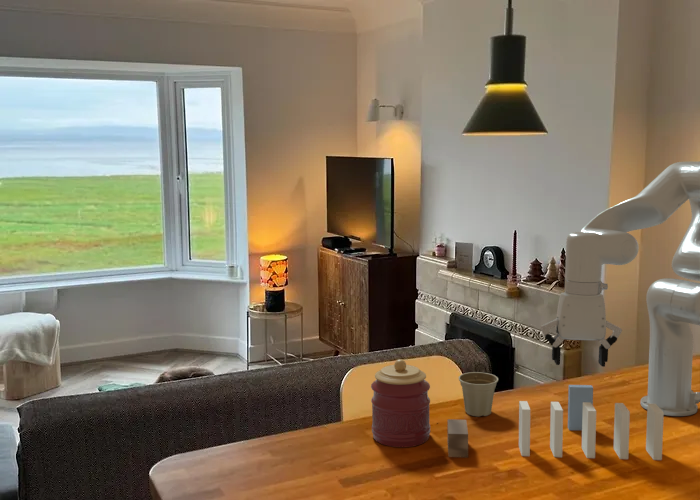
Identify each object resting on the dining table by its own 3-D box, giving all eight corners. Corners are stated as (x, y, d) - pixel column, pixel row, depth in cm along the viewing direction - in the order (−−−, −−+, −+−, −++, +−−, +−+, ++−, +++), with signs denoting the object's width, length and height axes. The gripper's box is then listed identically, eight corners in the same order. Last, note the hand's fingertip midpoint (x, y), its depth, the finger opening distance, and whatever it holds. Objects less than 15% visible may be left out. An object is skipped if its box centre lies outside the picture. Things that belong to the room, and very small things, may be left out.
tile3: (589, 448, 145) (590, 402, 144) (595, 458, 141) (596, 410, 139) (581, 447, 146) (582, 402, 144) (586, 458, 141) (588, 410, 139)
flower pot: (498, 420, 162) (498, 385, 161) (457, 418, 164) (457, 383, 162) (497, 406, 171) (498, 372, 170) (459, 404, 173) (459, 371, 172)
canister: (438, 430, 157) (437, 354, 154) (419, 452, 145) (418, 371, 143) (384, 422, 162) (383, 349, 160) (362, 443, 150) (361, 364, 148)
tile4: (557, 447, 146) (558, 401, 145) (562, 457, 141) (563, 410, 140) (550, 447, 146) (550, 401, 145) (554, 457, 141) (554, 410, 140)
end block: (466, 441, 150) (466, 419, 149) (468, 457, 142) (468, 434, 141) (447, 441, 150) (447, 419, 150) (448, 456, 142) (448, 433, 142)
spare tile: (567, 427, 157) (568, 384, 156) (590, 427, 156) (591, 385, 155) (569, 430, 155) (570, 387, 154) (592, 430, 155) (593, 387, 153)
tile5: (526, 446, 147) (526, 401, 146) (529, 456, 142) (530, 409, 141) (518, 446, 147) (519, 401, 146) (521, 456, 142) (522, 409, 141)
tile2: (621, 448, 145) (622, 403, 143) (628, 459, 140) (629, 411, 139) (613, 448, 145) (614, 402, 144) (620, 458, 140) (621, 411, 139)
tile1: (653, 449, 144) (655, 403, 143) (661, 460, 139) (663, 412, 138) (645, 449, 144) (647, 403, 143) (653, 459, 139) (655, 412, 138)
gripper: (618, 286, 154) (615, 360, 156) (539, 284, 156) (536, 358, 158) (628, 292, 147) (624, 370, 149) (544, 290, 149) (542, 367, 151)
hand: (579, 364), depth 154 cm, fingers open, 9 cm apart
